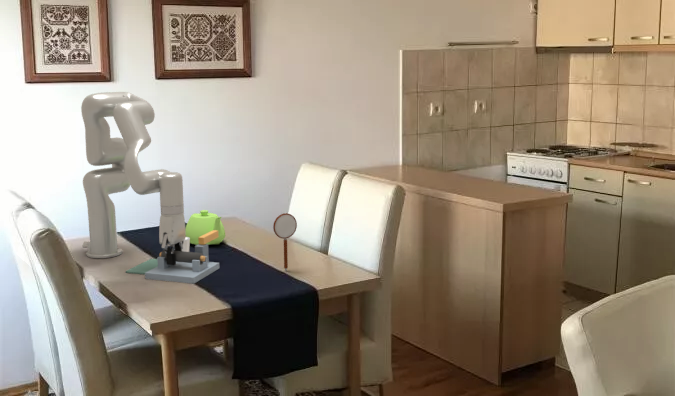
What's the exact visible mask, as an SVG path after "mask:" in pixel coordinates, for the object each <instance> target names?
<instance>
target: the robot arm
mask: <svg viewBox="0 0 675 396" xmlns="http://www.w3.org/2000/svg"><path fill="white" fill-rule="evenodd" d="M80 109H81V117H82V120H83V124H84V131H85V132H84V133H85V135H84V137H85V155H86V160H87V163H88V164H89V165H91V166H94V167H101V166H109V165H111V167H104V168H97V169H92V170H90V171H88V172H86V173H85V175H84V176H83V178H82V186H83V190H84V194H85V198H86V205H87V218H88V232H89V233H88V234H89V241H83V243H82V245H81V246H82V248H84V249H87V251H86V257H88V258H92V259H108V258H113V257H114V258H115V257H117V256H120V255H121V254H122V253H123V249H122V248H120V247H118V236H117V232H118V231H117V219H116V207H115V203H114V202H113V200H112V199H111V197H110V196H109V195H112V194H117V193H123V192H126V191H127V190H129V188H130V187H131V189H132V190H133V191H134V193H136V194H138V195H140V196H145V195H150V194H155V193H156V194H157V193H159V201H160V202H159V203H160V204H159V205H160V215H159V216H160V217H159V229H158V231H159V232H158V233H159V234H158V238H159V239H158V240H159V241H158V243H159V244H160V245H161V249H162V250H165V253H166V259H167V265H176V254H175V253H174V251H182V249H183V242H184V240H185V237H186V221H185V215H184V214H185V210H184V209H185V208H184V207H185V206H184V186H183V175H182V174H181V173H180V172H175V171H170V170H167V169H163V168H161V169H154V170H153V169H152V170H147V171H146V170H145V171H142V169H141V167H140V165H139V162H138V156H139V154H140V153H141V152H142V151H143V150H145V149H146V148H148V147H149V146H150V145H151V143H152V137H151V136H150V133H149V132H148V129H147V127H146V125H150V124H152V123H153V122H154V120H155V118H156V117H155V115H156V114H155V110H154V107H153V105H152V104H151V103H150V102H149V101H147V100H145V99H144V98H141V97H139V96H138V95H135V94H133V93H131V92H129V91H116V92H115V91H113V92H108V91H107V92H96V93H92V94H89V95H87V96H86V97H85V98H83V101H82V103H81V106H80ZM109 117H110V118H111V117H113V119H114V121H115V124H116V126H117V128H118V130H119V133H120V135H121V137H111V127H110V124H109V122H108V121H107V119H106V118H109Z"/></svg>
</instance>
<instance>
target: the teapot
mask: <svg viewBox="0 0 675 396" xmlns="http://www.w3.org/2000/svg"><path fill="white" fill-rule="evenodd" d="M199 212H200V213H199ZM199 212H198V213H196V212H195V213H192V214H191V215H190V217H189V219H188V221H187V223H186V224H185V229H186V237H189V238H190V244H192V245H195V246H196V245H198V244H199V240H198V237H200V236H202V235H204V234H206V233H209V232H211V231H213V230H217V231H218V234H219V237H218V238H216V239H214V240H212V241H210V242H208V243H206V244H208V246H210V245H220V243H222V242H223V240H224V239H225V238H226V230H225V227H224V224H223V222H222V220H221V219H222V218H223V216H218V214H216V213H213V212H209V210H208V209H202V210H199Z"/></svg>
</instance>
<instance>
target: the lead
mask: <svg viewBox="0 0 675 396" xmlns="http://www.w3.org/2000/svg"><path fill="white" fill-rule="evenodd" d="M174 253H175V254H176V262H186V263H192V260H200V264H202V262H203V261H205V259H206V257H205V256H203V253H196V252H195V251H194V252H193V251H189V252H184V251H174ZM158 257H165V261H167V259H166V253H165V250H164V249H162V251H160V252H159V256H158Z"/></svg>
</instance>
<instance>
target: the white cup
mask: <svg viewBox="0 0 675 396" xmlns="http://www.w3.org/2000/svg"><path fill="white" fill-rule="evenodd" d="M190 244H191V243H190V238H189V237H185V240H184V242H183V249H182V251H184V252H190V247H191V246H190Z"/></svg>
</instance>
